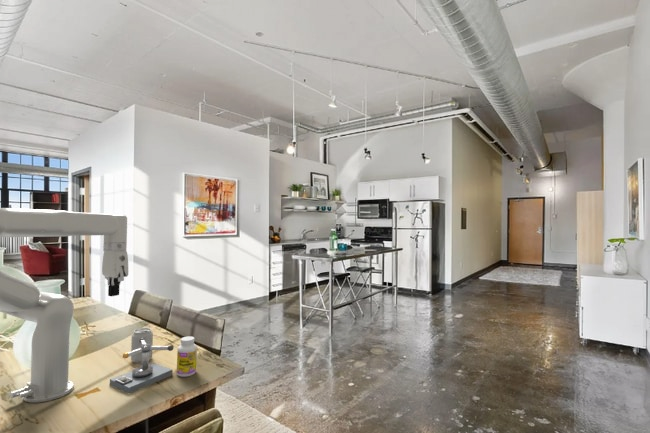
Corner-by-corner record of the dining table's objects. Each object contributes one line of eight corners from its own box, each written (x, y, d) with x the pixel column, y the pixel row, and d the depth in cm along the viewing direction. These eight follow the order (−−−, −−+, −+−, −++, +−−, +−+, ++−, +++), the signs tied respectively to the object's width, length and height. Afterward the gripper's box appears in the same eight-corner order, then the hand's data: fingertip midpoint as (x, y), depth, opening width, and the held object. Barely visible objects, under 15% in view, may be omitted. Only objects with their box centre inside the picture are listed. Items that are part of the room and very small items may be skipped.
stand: (128, 394, 112) (128, 382, 112) (109, 385, 117) (109, 373, 117) (172, 375, 126) (172, 364, 126) (153, 367, 131) (153, 357, 131)
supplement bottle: (175, 378, 123) (176, 342, 123) (178, 370, 130) (178, 336, 130) (195, 376, 125) (196, 340, 125) (196, 368, 131) (197, 334, 131)
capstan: (142, 362, 131) (142, 336, 131) (174, 371, 124) (175, 344, 124) (106, 376, 118) (107, 348, 118) (139, 387, 111) (140, 358, 111)
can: (143, 364, 134) (144, 333, 134) (126, 362, 135) (127, 331, 135) (156, 357, 141) (157, 327, 141) (140, 355, 142) (141, 326, 143)
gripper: (136, 247, 131) (135, 296, 131) (114, 245, 138) (112, 291, 138) (116, 249, 124) (114, 300, 124) (93, 246, 131) (92, 294, 131)
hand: (113, 295), depth 131 cm, fingers closed
